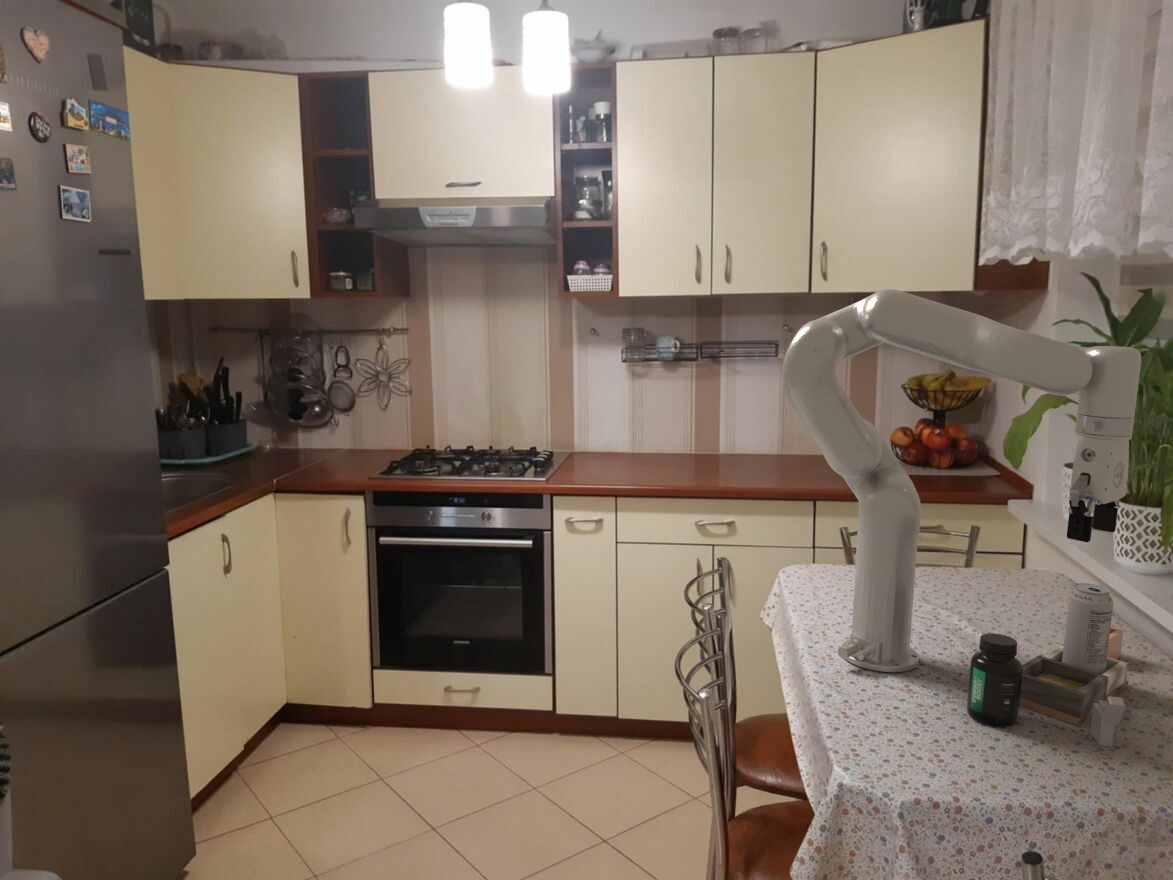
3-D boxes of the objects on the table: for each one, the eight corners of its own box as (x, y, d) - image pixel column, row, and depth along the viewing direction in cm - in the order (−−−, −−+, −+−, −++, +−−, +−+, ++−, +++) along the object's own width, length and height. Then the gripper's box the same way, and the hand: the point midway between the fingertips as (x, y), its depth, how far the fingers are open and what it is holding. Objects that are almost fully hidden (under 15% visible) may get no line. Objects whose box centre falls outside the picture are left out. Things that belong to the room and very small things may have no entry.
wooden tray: (1077, 725, 121) (1080, 696, 120) (1006, 700, 128) (1009, 672, 128) (1127, 687, 133) (1130, 660, 132) (1060, 666, 141) (1063, 640, 140)
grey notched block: (1089, 730, 119) (1095, 677, 118) (1103, 732, 119) (1109, 679, 117) (1105, 756, 112) (1111, 700, 111) (1119, 758, 112) (1126, 701, 111)
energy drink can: (1081, 668, 138) (1091, 580, 135) (1113, 684, 132) (1124, 592, 130) (1051, 672, 136) (1060, 583, 134) (1082, 688, 130) (1092, 596, 128)
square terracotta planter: (1107, 666, 141) (1112, 618, 139) (1068, 655, 145) (1073, 608, 144) (1120, 657, 145) (1125, 610, 143) (1082, 646, 149) (1087, 600, 148)
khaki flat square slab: (1071, 707, 123) (1072, 698, 123) (1025, 691, 128) (1026, 683, 128) (1089, 694, 127) (1090, 686, 127) (1043, 680, 132) (1044, 671, 132)
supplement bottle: (973, 725, 120) (980, 646, 118) (961, 704, 127) (967, 628, 125) (1024, 730, 119) (1032, 650, 117) (1009, 708, 126) (1016, 632, 124)
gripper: (1108, 434, 120) (1095, 550, 123) (1151, 426, 131) (1138, 532, 134) (1053, 428, 126) (1041, 538, 129) (1099, 420, 137) (1087, 522, 139)
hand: (1091, 535), depth 131 cm, fingers open, 9 cm apart
